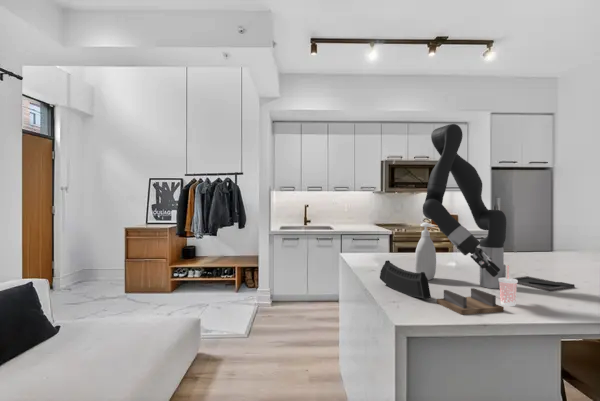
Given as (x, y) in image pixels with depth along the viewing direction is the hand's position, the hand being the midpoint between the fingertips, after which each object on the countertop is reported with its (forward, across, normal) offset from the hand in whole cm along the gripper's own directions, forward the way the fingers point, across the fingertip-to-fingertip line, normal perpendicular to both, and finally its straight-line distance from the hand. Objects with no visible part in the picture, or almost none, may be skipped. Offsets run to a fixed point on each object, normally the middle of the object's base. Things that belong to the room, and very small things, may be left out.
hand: (497, 273), depth 134 cm
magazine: (-16, -2, +32) cm, 36 cm away
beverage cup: (+10, 0, +5) cm, 11 cm away
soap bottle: (-14, +26, +30) cm, 42 cm away
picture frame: (+17, +43, -1) cm, 46 cm away
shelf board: (+2, -11, +13) cm, 17 cm away
